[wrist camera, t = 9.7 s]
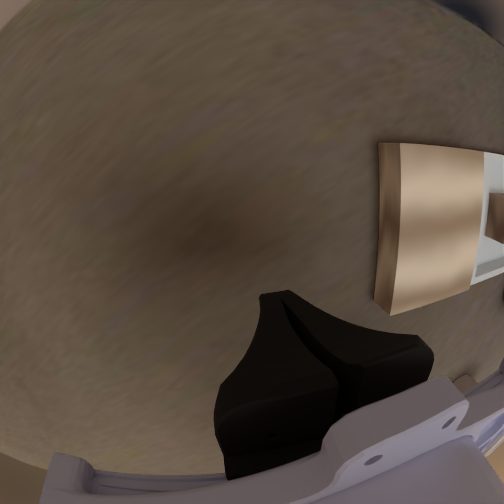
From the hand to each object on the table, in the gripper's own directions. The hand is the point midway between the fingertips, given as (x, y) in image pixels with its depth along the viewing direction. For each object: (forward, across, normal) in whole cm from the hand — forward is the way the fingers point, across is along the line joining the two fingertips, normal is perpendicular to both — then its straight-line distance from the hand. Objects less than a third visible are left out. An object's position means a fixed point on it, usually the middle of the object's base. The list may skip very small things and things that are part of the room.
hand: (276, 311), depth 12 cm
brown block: (+6, -30, 0) cm, 30 cm away
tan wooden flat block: (+9, -16, 0) cm, 19 cm away
